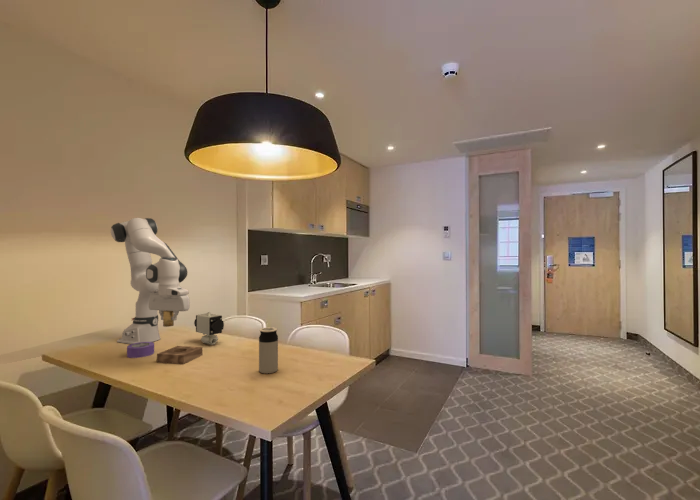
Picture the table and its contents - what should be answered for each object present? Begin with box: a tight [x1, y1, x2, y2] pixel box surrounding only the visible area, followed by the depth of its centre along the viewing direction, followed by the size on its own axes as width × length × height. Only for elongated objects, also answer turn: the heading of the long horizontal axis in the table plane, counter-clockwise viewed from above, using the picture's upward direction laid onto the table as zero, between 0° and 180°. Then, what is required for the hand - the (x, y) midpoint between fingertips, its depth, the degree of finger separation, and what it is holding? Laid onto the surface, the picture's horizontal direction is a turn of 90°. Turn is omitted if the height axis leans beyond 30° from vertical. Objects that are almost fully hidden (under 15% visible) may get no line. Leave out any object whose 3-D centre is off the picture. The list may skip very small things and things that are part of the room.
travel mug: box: [258, 326, 279, 375], centre depth 146 cm, size 8×8×18 cm
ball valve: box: [193, 311, 225, 346], centre depth 190 cm, size 18×8×18 cm, turn 56°
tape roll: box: [126, 341, 155, 359], centre depth 170 cm, size 12×12×5 cm
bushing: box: [162, 311, 175, 328], centre depth 160 cm, size 4×4×7 cm
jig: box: [156, 345, 203, 365], centre depth 163 cm, size 14×14×4 cm
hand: (168, 320), depth 160 cm, fingers closed on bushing, 4 cm apart
